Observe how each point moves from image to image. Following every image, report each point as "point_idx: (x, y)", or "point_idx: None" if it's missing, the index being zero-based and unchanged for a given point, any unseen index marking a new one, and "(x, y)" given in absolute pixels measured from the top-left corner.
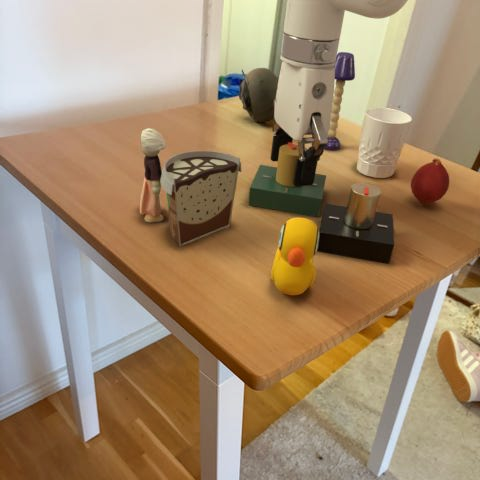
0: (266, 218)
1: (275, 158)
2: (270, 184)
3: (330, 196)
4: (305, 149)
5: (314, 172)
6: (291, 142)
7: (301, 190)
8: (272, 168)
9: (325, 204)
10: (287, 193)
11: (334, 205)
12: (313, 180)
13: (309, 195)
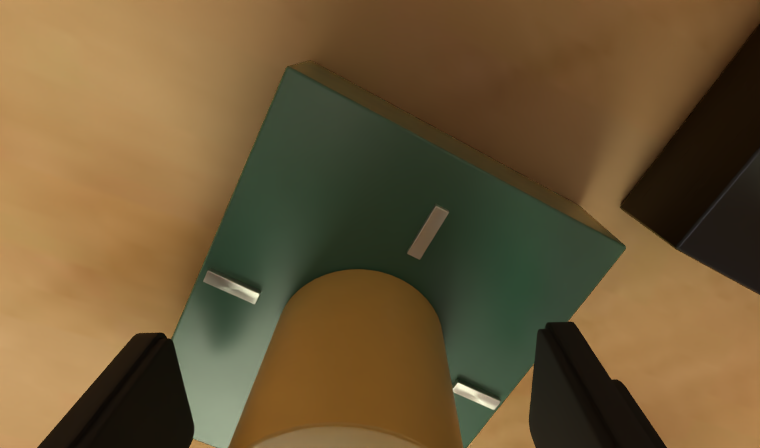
0: (523, 415)
1: (186, 434)
2: None
3: (365, 31)
4: (344, 445)
5: (607, 383)
6: (94, 441)
7: (490, 320)
8: (186, 374)
9: (697, 255)
10: (505, 396)
11: (731, 206)
12: (582, 338)
13: (561, 300)
